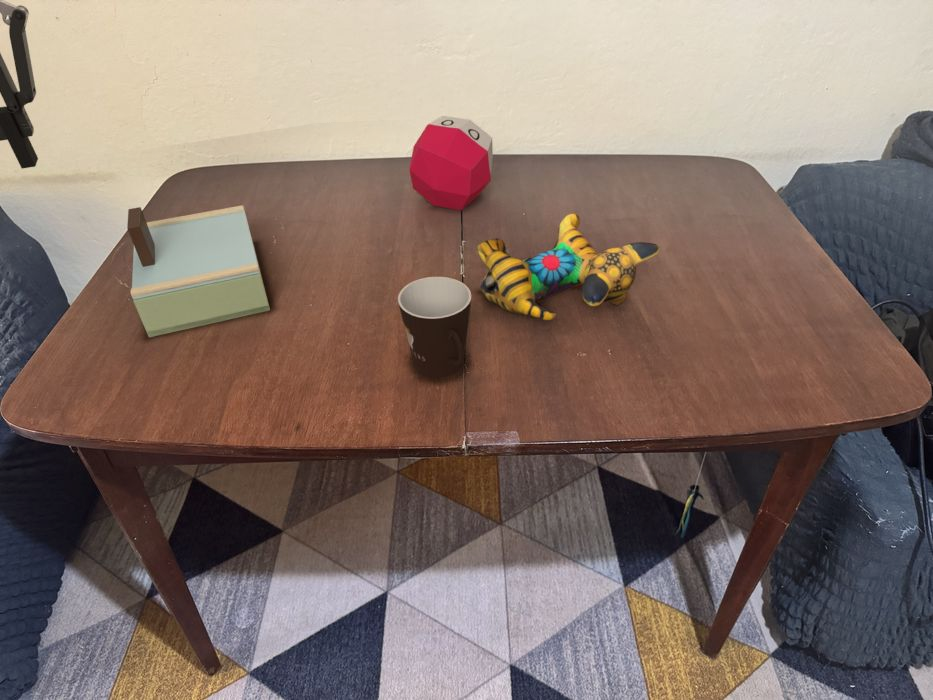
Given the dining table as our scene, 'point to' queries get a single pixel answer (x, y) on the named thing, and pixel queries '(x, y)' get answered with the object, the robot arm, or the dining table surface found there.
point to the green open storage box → (202, 304)
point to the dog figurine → (560, 271)
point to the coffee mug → (436, 324)
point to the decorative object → (451, 162)
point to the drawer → (189, 250)
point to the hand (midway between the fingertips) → (30, 163)
